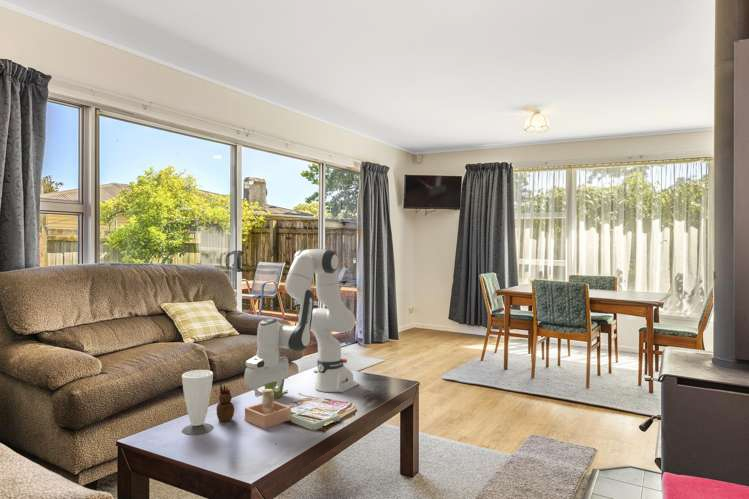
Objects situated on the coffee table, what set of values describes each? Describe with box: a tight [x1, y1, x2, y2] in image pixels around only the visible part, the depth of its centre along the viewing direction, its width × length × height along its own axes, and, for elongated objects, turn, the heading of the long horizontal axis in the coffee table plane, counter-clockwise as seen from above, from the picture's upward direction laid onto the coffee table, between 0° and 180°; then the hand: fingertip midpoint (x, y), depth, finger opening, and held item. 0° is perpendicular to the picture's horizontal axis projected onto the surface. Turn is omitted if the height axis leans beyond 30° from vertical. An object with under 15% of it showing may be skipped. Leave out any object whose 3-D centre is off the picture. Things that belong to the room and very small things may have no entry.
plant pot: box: [263, 379, 285, 399], centre depth 231 cm, size 12×12×11 cm
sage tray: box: [289, 406, 341, 431], centre depth 201 cm, size 14×14×2 cm
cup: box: [181, 369, 214, 436], centre depth 191 cm, size 12×12×22 cm
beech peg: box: [261, 388, 275, 415], centre depth 201 cm, size 4×4×12 cm
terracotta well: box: [244, 400, 292, 429], centre depth 201 cm, size 13×13×5 cm
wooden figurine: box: [216, 383, 235, 423], centre depth 200 cm, size 7×6×15 cm
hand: (267, 393), depth 201 cm, fingers open, 8 cm apart
